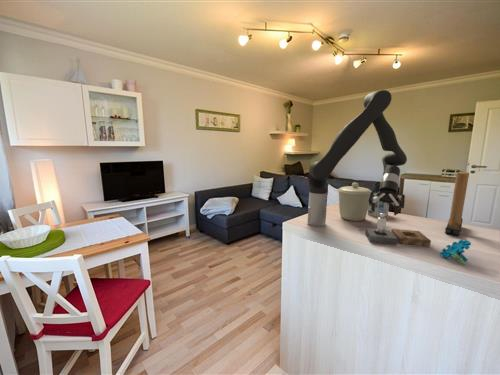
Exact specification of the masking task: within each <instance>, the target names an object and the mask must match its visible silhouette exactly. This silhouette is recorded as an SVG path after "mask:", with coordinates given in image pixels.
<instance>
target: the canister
mask: <svg viewBox="0 0 500 375" xmlns="http://www.w3.org/2000/svg"><path fill="white" fill-rule="evenodd" d="M337 192H338V208H339V215H340V217H341V218H342V219H344V220H346V221H352V222H362V221H363V220H365V219H366V217H367V215H368V207H369V201H368V200H369V197H370V194H371V192H372V190H370V189H369V188H366V187H362V186H360V185H359V183H358V182H352V183H351V186H350V185H349V186H341V187H339V188H337Z"/></svg>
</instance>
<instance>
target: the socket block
mask: <svg viewBox="0 0 500 375" xmlns="http://www.w3.org/2000/svg"><path fill="white" fill-rule="evenodd" d="M376 231H377V228H367V227H365V231H364V232H365V233H364V235H365V236H366V238H367V240H368V242H369V243H370V244H380V245H390V246H397V243H398V242H397V238H396V237H395V236H394V234H393V233H392V232H391V230H390V229H389V230H388V229H385V235H378V234H376Z"/></svg>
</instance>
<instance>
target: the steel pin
mask: <svg viewBox="0 0 500 375" xmlns="http://www.w3.org/2000/svg"><path fill="white" fill-rule="evenodd" d="M386 225H387V217H386V216H385V213H380V217H377V223H376V229H377V231H376V234H378V235H385V230H386Z"/></svg>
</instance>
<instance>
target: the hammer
mask: <svg viewBox="0 0 500 375" xmlns="http://www.w3.org/2000/svg"><path fill="white" fill-rule="evenodd" d="M469 176H470V173H469V172H468V171H457V172H456V175H455V180H454V181H455V182H454V190H453V194H452V202H451V207H450V215H449V219H448V222H447V225H446V227H445V228H444V230H445V231H444V232H445V234H450V235H455V236H458V237H459V236H460V233H461V230H462V227H463V212H464V207H465V201H466V200H465V199H466V195H467V194H466V193H467V187H468V183H469Z"/></svg>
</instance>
